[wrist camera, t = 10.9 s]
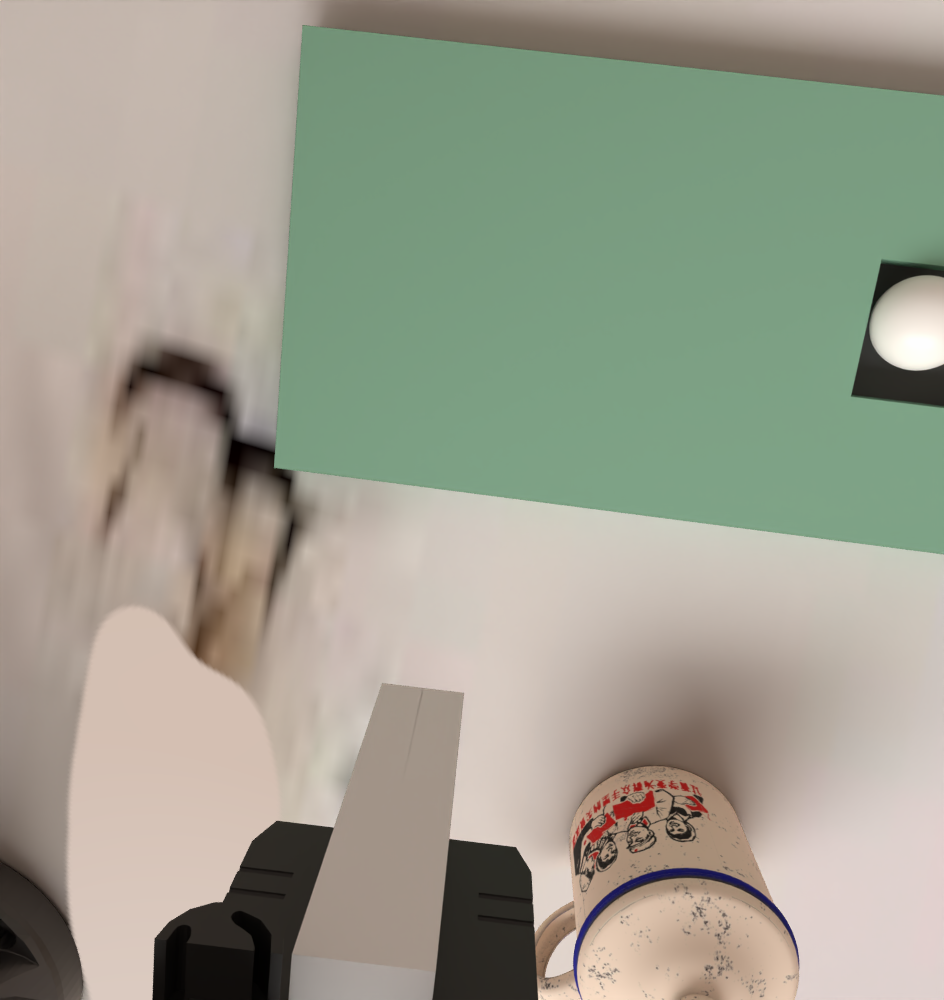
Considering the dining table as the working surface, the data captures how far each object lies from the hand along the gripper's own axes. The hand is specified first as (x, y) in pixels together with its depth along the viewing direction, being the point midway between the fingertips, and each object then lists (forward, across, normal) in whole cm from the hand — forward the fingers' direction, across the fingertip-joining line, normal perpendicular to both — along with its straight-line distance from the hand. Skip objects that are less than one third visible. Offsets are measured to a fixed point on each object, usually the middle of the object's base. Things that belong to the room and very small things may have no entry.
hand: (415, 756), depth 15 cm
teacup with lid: (+24, -10, +18) cm, 32 cm away
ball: (+21, -18, -10) cm, 29 cm away
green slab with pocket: (+24, -8, -9) cm, 27 cm away
